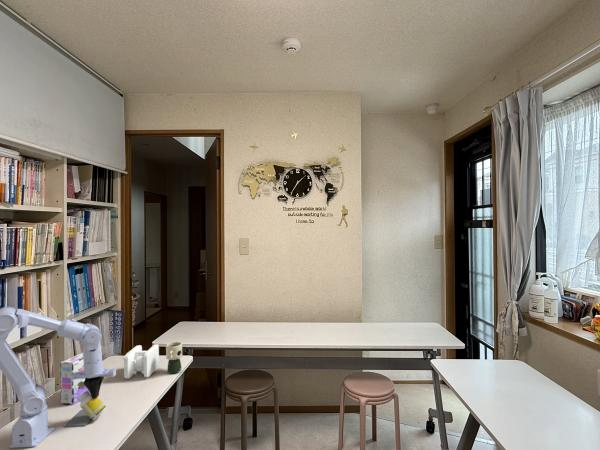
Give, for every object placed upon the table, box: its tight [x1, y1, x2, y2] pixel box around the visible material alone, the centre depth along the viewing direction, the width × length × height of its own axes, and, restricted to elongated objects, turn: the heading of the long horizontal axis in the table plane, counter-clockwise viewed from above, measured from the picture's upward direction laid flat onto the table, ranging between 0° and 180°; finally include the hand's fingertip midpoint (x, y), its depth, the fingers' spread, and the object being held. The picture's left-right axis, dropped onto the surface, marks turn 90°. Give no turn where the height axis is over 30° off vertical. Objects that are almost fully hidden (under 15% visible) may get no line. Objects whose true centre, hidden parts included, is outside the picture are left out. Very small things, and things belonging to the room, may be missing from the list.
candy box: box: [59, 352, 90, 406], centre depth 141 cm, size 14×6×16 cm, turn 168°
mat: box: [64, 409, 93, 428], centre depth 125 cm, size 10×7×1 cm
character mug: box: [165, 341, 183, 374], centre depth 163 cm, size 11×7×13 cm, turn 1°
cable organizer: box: [122, 343, 160, 379], centre depth 161 cm, size 15×11×12 cm
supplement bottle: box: [77, 390, 107, 421], centre depth 124 cm, size 5×5×10 cm
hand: (95, 397), depth 124 cm, fingers closed
